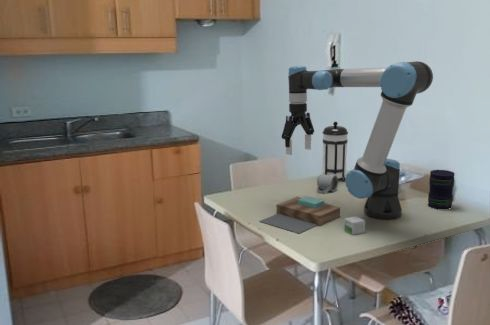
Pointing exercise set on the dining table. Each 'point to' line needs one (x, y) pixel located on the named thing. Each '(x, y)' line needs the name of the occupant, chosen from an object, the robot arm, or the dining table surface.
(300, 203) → the card
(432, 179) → the storage jar
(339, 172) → the coffee press
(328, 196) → the dining table surface
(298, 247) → the dining table surface
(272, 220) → the mat
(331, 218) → the board
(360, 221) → the small box
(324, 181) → the ceramic mug
